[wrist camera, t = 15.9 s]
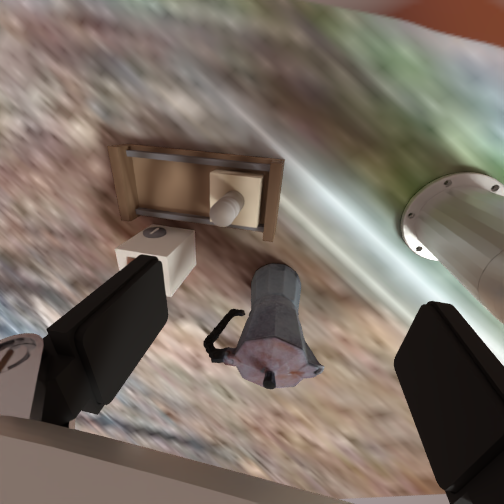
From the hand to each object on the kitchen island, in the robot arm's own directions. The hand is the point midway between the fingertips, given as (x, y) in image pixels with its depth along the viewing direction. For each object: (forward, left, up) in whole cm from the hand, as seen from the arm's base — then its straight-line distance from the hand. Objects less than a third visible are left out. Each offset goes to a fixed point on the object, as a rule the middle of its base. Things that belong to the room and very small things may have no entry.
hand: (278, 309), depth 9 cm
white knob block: (+20, +15, -30) cm, 39 cm away
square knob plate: (+8, +4, -29) cm, 30 cm away
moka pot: (+1, +20, -31) cm, 36 cm away
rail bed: (+14, +4, -30) cm, 34 cm away
